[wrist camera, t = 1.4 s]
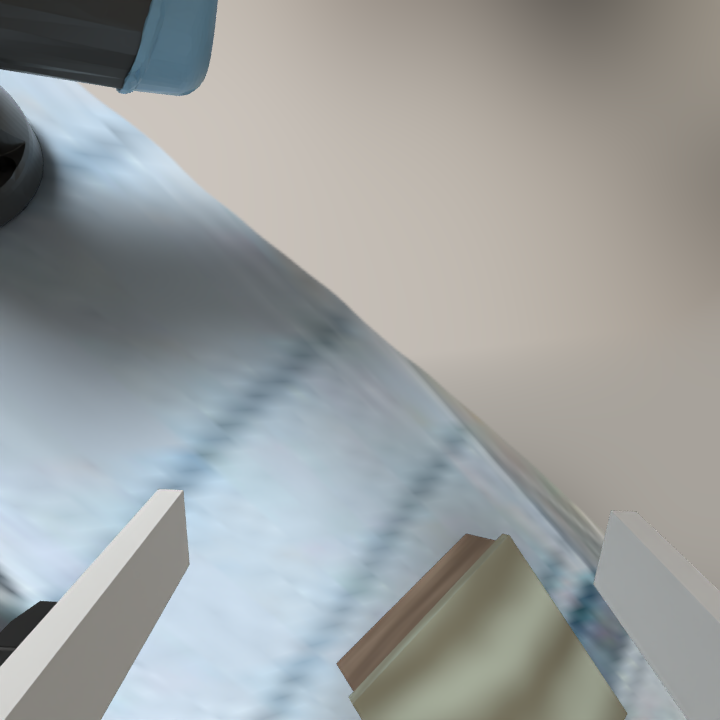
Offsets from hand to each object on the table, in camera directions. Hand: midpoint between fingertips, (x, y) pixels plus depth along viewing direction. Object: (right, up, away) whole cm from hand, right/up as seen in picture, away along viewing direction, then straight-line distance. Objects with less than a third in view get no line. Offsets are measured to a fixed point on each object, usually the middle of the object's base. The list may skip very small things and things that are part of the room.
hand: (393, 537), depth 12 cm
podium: (+7, -19, +18) cm, 27 cm away
